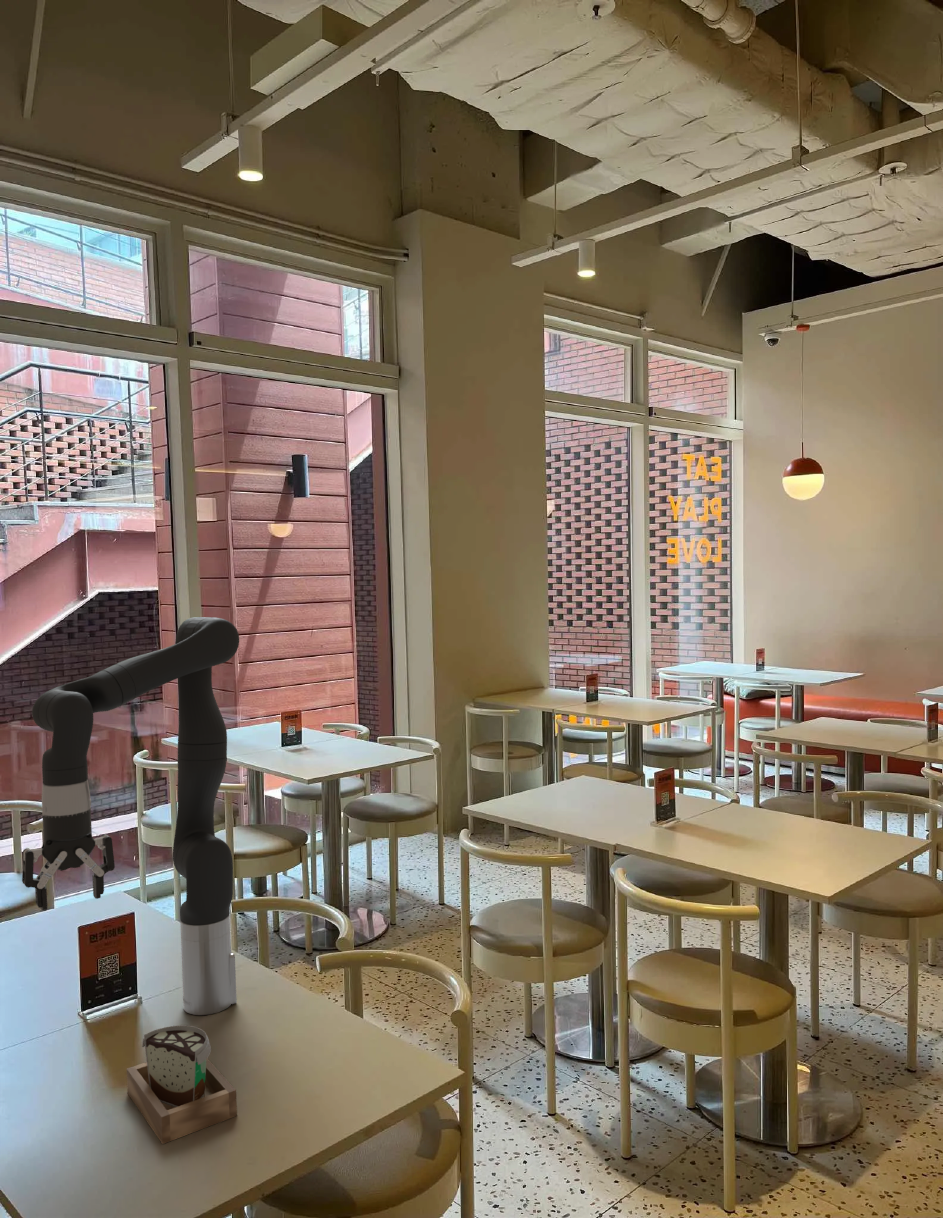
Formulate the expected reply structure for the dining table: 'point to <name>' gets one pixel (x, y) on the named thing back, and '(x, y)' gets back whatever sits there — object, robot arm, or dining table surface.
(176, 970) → the dining table surface
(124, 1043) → the dining table surface
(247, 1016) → the dining table surface
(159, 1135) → the wooden box
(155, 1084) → the food container
